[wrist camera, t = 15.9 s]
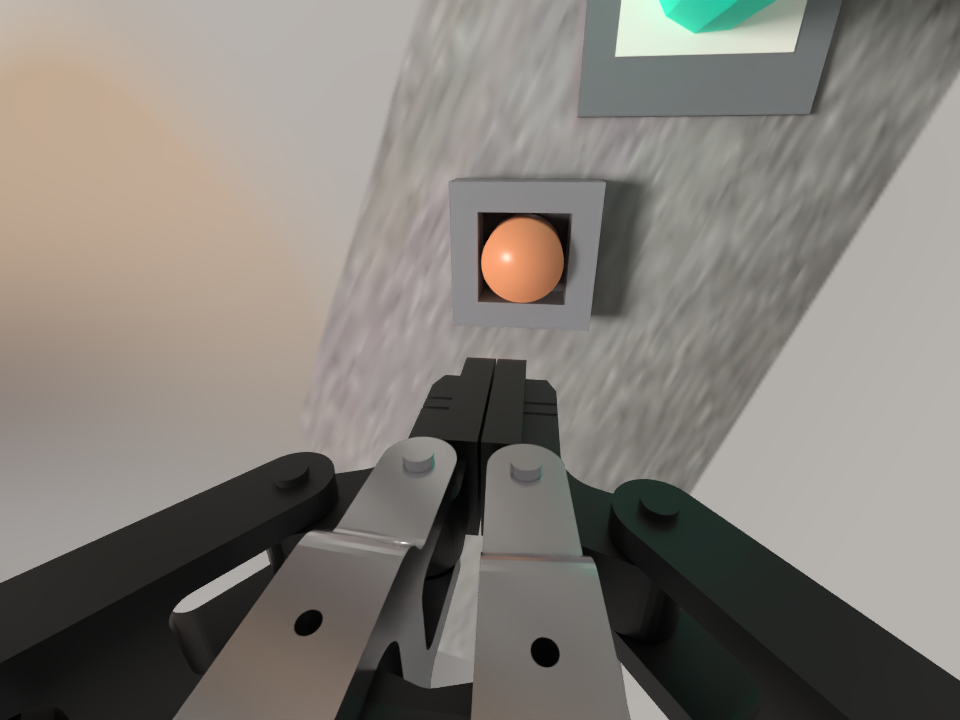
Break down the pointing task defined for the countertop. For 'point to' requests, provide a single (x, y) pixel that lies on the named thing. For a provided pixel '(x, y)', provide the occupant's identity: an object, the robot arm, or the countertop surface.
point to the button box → (525, 197)
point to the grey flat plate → (703, 61)
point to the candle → (711, 13)
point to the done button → (523, 258)
